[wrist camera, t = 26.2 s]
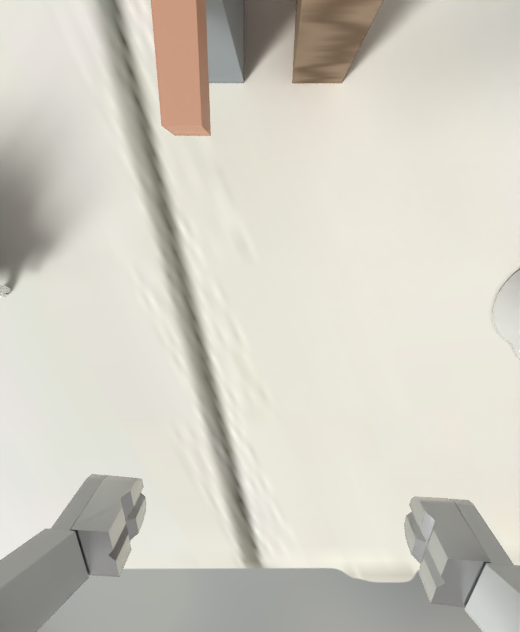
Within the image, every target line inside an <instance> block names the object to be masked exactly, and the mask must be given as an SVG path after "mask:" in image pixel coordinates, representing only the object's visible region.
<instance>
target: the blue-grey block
mask: <svg viewBox="0 0 520 632" xmlns="http://www.w3.org/2000/svg"><path fill="white" fill-rule="evenodd" d="M206 21H207V49H208V77H209V83H244V0H206Z"/></svg>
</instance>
